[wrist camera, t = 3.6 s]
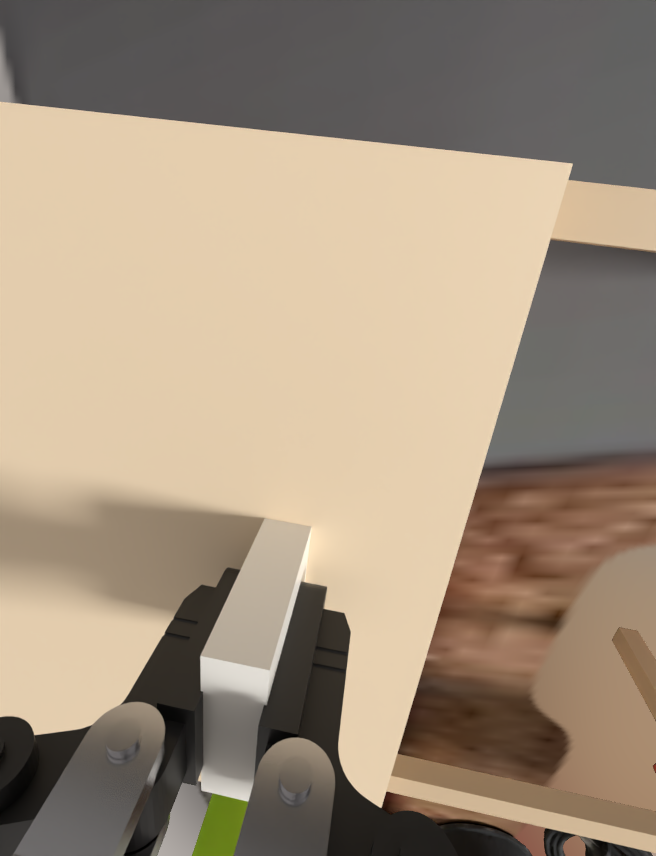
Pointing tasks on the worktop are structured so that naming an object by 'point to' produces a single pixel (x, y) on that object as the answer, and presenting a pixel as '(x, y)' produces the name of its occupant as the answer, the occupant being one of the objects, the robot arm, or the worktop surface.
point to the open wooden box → (573, 813)
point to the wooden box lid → (245, 405)
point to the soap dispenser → (220, 827)
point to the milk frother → (499, 852)
